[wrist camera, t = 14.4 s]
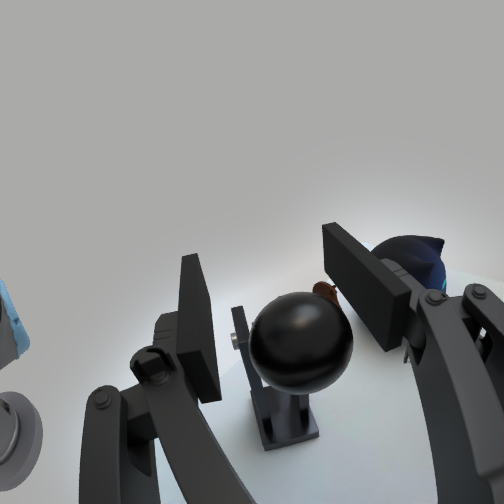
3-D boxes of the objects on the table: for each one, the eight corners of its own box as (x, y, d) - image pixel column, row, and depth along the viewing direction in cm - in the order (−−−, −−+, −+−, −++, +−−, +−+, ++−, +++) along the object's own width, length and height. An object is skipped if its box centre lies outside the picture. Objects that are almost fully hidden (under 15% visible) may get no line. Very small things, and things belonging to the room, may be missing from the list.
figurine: (421, 364, 31) (443, 284, 25) (337, 332, 40) (337, 255, 34) (446, 300, 40) (459, 230, 34) (378, 281, 49) (381, 214, 43)
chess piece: (328, 359, 36) (328, 300, 32) (303, 340, 40) (298, 283, 36) (351, 341, 38) (354, 283, 34) (326, 324, 42) (325, 268, 38)
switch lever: (380, 383, 8) (353, 271, 8) (266, 420, 7) (235, 302, 8) (292, 347, 24) (282, 307, 25) (251, 357, 24) (241, 317, 25)
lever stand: (319, 436, 26) (319, 340, 19) (264, 451, 26) (234, 362, 19) (299, 385, 33) (288, 281, 26) (252, 397, 33) (222, 296, 26)
